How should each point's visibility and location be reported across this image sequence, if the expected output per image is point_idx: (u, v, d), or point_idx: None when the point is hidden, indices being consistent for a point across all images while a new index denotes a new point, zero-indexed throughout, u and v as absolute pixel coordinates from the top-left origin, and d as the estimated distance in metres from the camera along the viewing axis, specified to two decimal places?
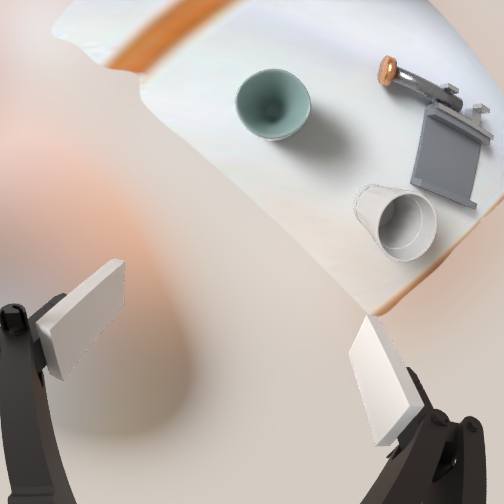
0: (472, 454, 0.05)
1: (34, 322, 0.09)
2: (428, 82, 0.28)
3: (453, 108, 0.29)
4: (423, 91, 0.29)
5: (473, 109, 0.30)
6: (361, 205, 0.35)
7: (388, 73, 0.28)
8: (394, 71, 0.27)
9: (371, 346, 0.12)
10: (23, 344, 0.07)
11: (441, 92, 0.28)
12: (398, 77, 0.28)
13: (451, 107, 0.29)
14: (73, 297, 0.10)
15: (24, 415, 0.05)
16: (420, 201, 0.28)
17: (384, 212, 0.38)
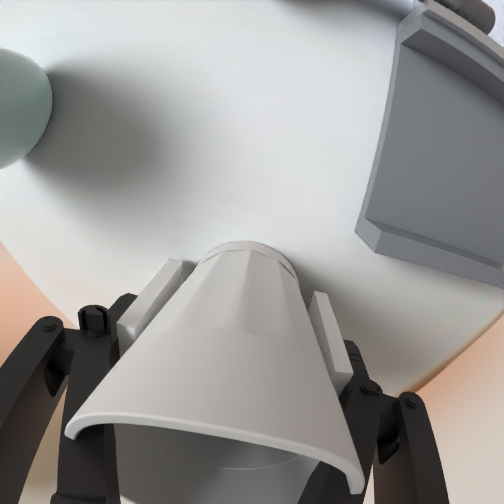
0: (417, 433, 0.07)
1: None
2: None
3: (472, 22, 0.07)
4: None
5: None
6: None
7: None
8: None
9: (315, 319, 0.14)
10: (101, 347, 0.08)
11: None
12: None
13: (466, 18, 0.07)
14: (146, 296, 0.11)
15: None
16: None
17: None
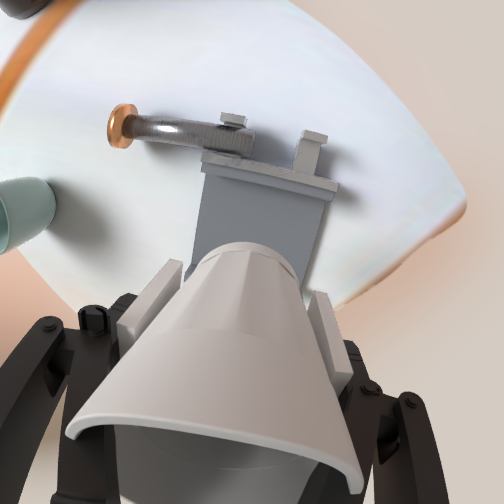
0: (417, 433, 0.07)
1: None
2: (179, 124, 0.22)
3: (236, 153, 0.24)
4: (173, 142, 0.23)
5: (301, 140, 0.24)
6: None
7: (108, 136, 0.22)
8: (114, 131, 0.22)
9: (315, 319, 0.14)
10: (101, 347, 0.08)
11: (203, 135, 0.22)
12: (130, 134, 0.23)
13: (232, 153, 0.24)
14: (146, 296, 0.11)
15: None
16: None
17: None
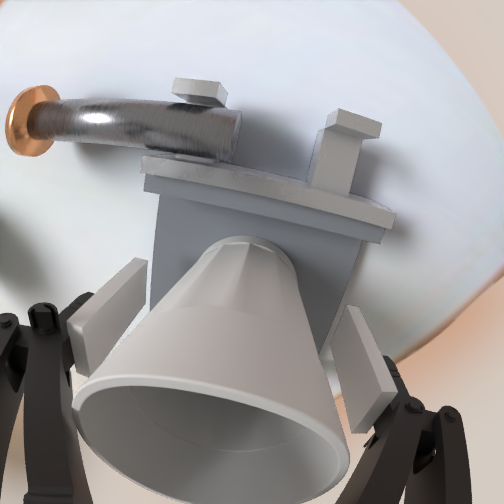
0: (452, 445, 0.06)
1: (62, 321, 0.09)
2: (103, 108, 0.11)
3: (204, 156, 0.12)
4: (96, 140, 0.12)
5: (327, 131, 0.13)
6: None
7: (8, 140, 0.11)
8: (12, 131, 0.10)
9: (349, 335, 0.13)
10: (52, 344, 0.07)
11: (140, 123, 0.11)
12: (37, 133, 0.11)
13: (196, 155, 0.12)
14: (101, 295, 0.11)
15: (48, 415, 0.05)
16: None
17: None
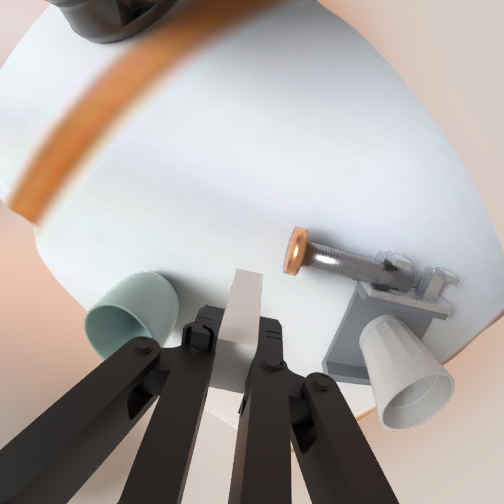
0: (334, 419, 0.07)
1: None
2: (360, 265, 0.25)
3: (396, 290, 0.27)
4: (349, 278, 0.26)
5: (435, 274, 0.27)
6: (369, 352, 0.28)
7: (289, 268, 0.25)
8: (298, 265, 0.25)
9: None
10: (202, 366, 0.09)
11: (379, 277, 0.25)
12: (308, 266, 0.26)
13: None
14: (233, 309, 0.12)
15: (176, 438, 0.06)
16: None
17: None
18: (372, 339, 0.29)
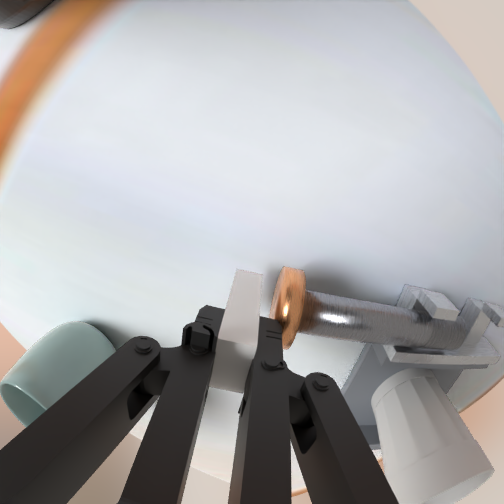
0: (333, 419, 0.07)
1: None
2: (392, 325, 0.14)
3: None
4: (374, 343, 0.15)
5: (481, 312, 0.16)
6: (385, 426, 0.17)
7: None
8: (289, 341, 0.14)
9: None
10: (202, 366, 0.09)
11: (419, 339, 0.14)
12: (307, 333, 0.15)
13: None
14: (233, 309, 0.12)
15: (176, 438, 0.06)
16: None
17: None
18: (389, 407, 0.18)
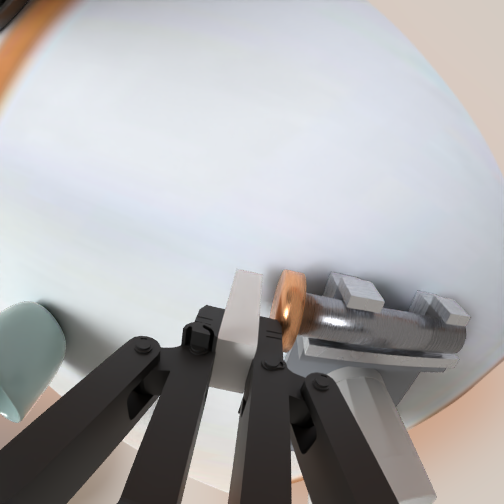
0: (334, 419, 0.07)
1: None
2: (392, 329, 0.14)
3: None
4: None
5: (431, 306, 0.16)
6: None
7: None
8: (289, 344, 0.14)
9: None
10: (202, 366, 0.09)
11: (419, 343, 0.14)
12: (308, 336, 0.15)
13: None
14: (234, 309, 0.12)
15: (176, 438, 0.06)
16: None
17: None
18: None
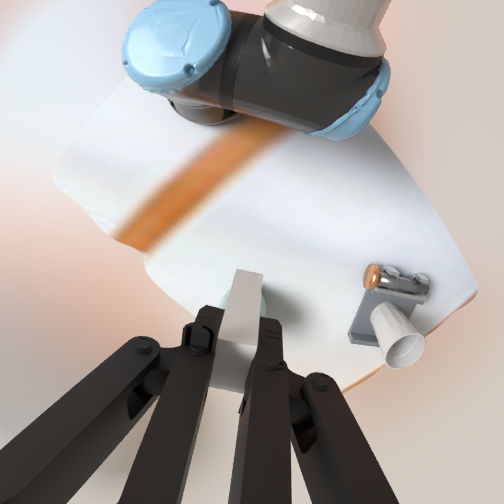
0: (334, 419, 0.07)
1: None
2: (402, 282, 0.46)
3: None
4: (397, 289, 0.47)
5: (415, 277, 0.48)
6: (377, 324, 0.48)
7: (370, 286, 0.45)
8: (375, 285, 0.45)
9: None
10: (202, 366, 0.09)
11: (411, 288, 0.46)
12: (378, 284, 0.46)
13: None
14: (233, 309, 0.12)
15: (176, 437, 0.06)
16: None
17: None
18: (378, 316, 0.49)
